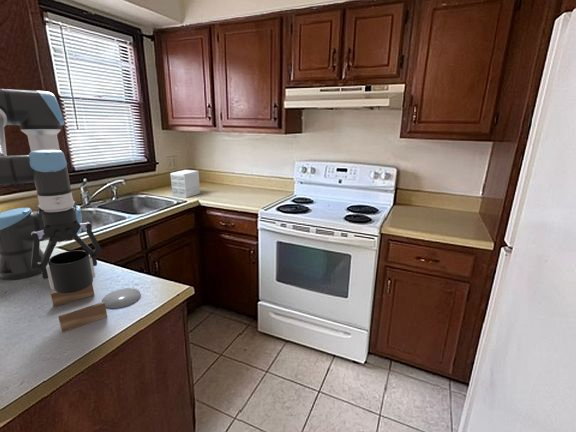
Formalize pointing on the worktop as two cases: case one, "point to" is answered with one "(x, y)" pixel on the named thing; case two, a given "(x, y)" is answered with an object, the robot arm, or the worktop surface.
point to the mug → (71, 271)
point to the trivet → (121, 298)
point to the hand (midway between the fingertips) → (73, 281)
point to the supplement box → (185, 183)
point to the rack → (80, 315)
